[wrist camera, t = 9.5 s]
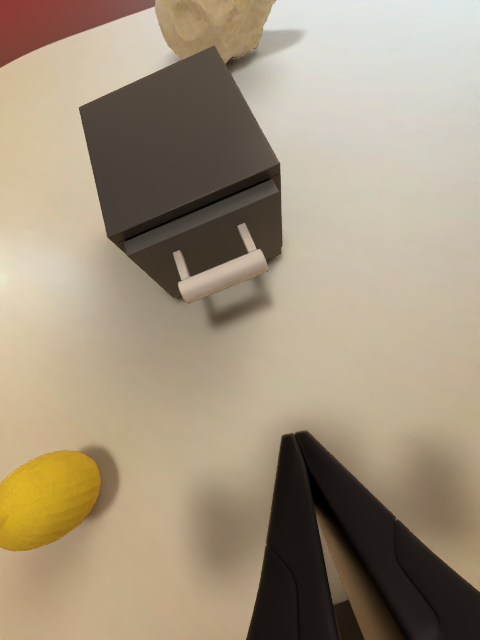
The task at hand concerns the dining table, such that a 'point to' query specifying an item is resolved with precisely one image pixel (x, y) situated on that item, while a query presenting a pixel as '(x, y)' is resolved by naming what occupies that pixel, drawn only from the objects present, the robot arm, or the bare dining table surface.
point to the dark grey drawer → (212, 244)
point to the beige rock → (212, 25)
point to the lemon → (46, 499)
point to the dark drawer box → (174, 145)
